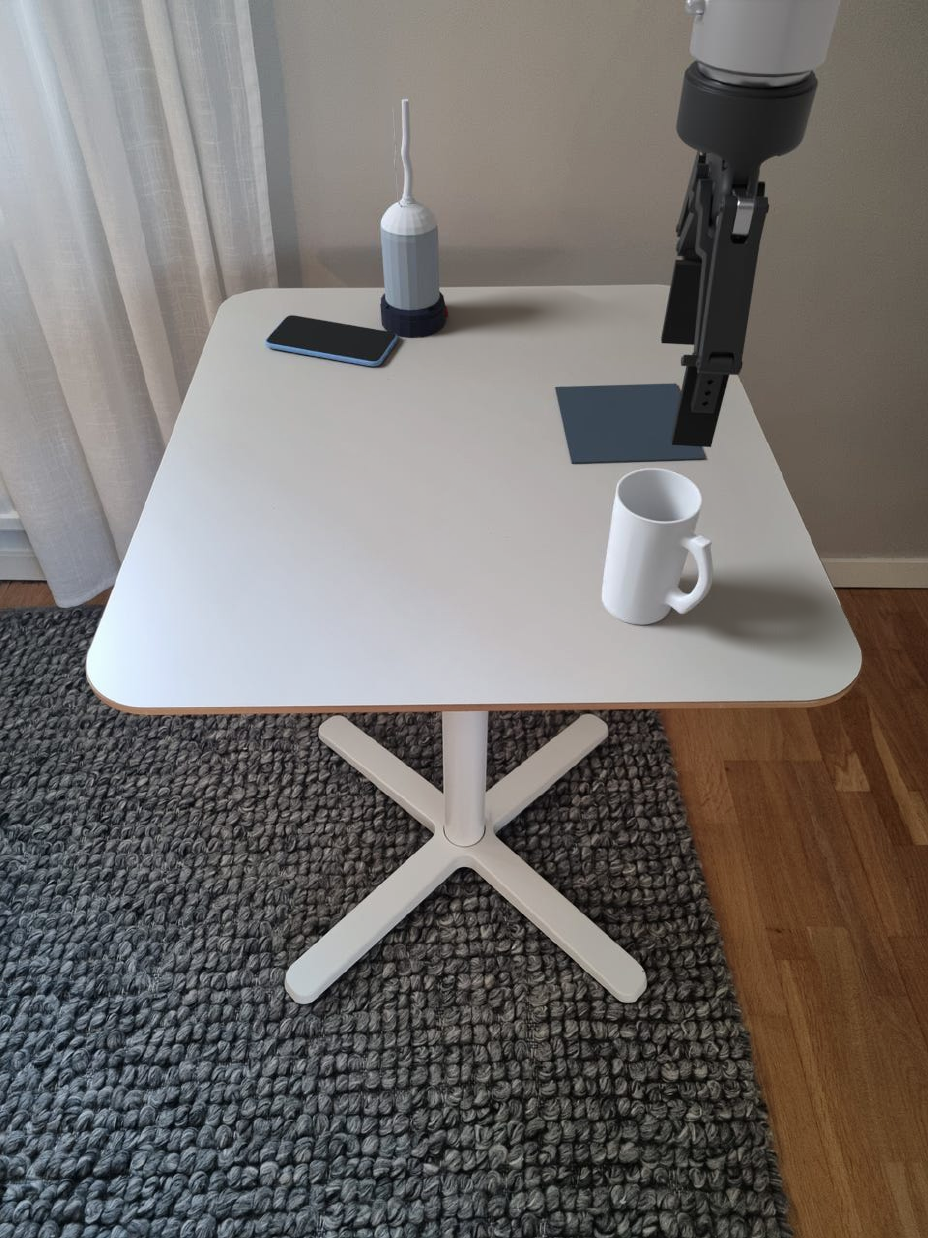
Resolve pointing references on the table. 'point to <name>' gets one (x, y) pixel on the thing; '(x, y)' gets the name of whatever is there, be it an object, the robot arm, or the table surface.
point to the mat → (622, 423)
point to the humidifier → (410, 259)
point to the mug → (654, 547)
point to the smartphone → (332, 340)
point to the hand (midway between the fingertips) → (684, 389)
